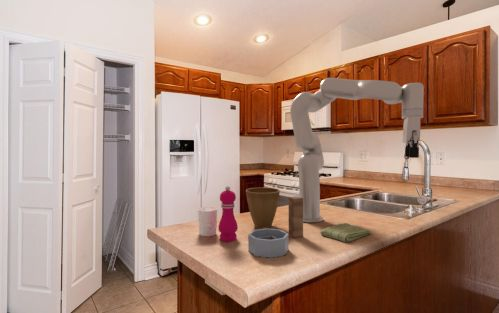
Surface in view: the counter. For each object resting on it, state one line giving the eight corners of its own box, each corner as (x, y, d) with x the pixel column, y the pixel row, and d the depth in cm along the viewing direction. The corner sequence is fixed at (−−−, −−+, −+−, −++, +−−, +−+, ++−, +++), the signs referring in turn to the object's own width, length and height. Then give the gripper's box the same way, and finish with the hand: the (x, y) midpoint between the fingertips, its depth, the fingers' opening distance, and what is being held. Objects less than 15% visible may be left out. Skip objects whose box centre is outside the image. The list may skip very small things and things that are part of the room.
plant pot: (240, 224, 127) (240, 188, 127) (268, 220, 134) (268, 186, 134) (256, 232, 114) (255, 193, 114) (286, 227, 121) (286, 190, 120)
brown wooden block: (288, 235, 111) (288, 197, 110) (297, 233, 112) (297, 196, 112) (294, 238, 107) (294, 198, 107) (303, 236, 109) (303, 197, 108)
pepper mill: (227, 235, 112) (227, 184, 111) (241, 238, 107) (241, 186, 106) (214, 239, 106) (213, 186, 105) (228, 243, 101) (227, 188, 101)
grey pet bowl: (244, 247, 98) (243, 231, 97) (275, 242, 103) (275, 227, 103) (260, 260, 86) (260, 242, 86) (294, 253, 91) (294, 236, 91)
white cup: (198, 237, 109) (198, 211, 108) (196, 231, 116) (196, 207, 116) (219, 235, 111) (218, 210, 110) (216, 230, 118) (215, 206, 118)
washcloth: (373, 235, 111) (373, 227, 111) (346, 245, 101) (346, 236, 100) (344, 228, 122) (344, 220, 122) (317, 235, 111) (317, 227, 111)
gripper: (398, 117, 123) (398, 156, 124) (405, 112, 107) (404, 157, 107) (418, 116, 120) (417, 156, 121) (428, 111, 104) (427, 158, 105)
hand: (411, 157), depth 114 cm, fingers open, 9 cm apart
